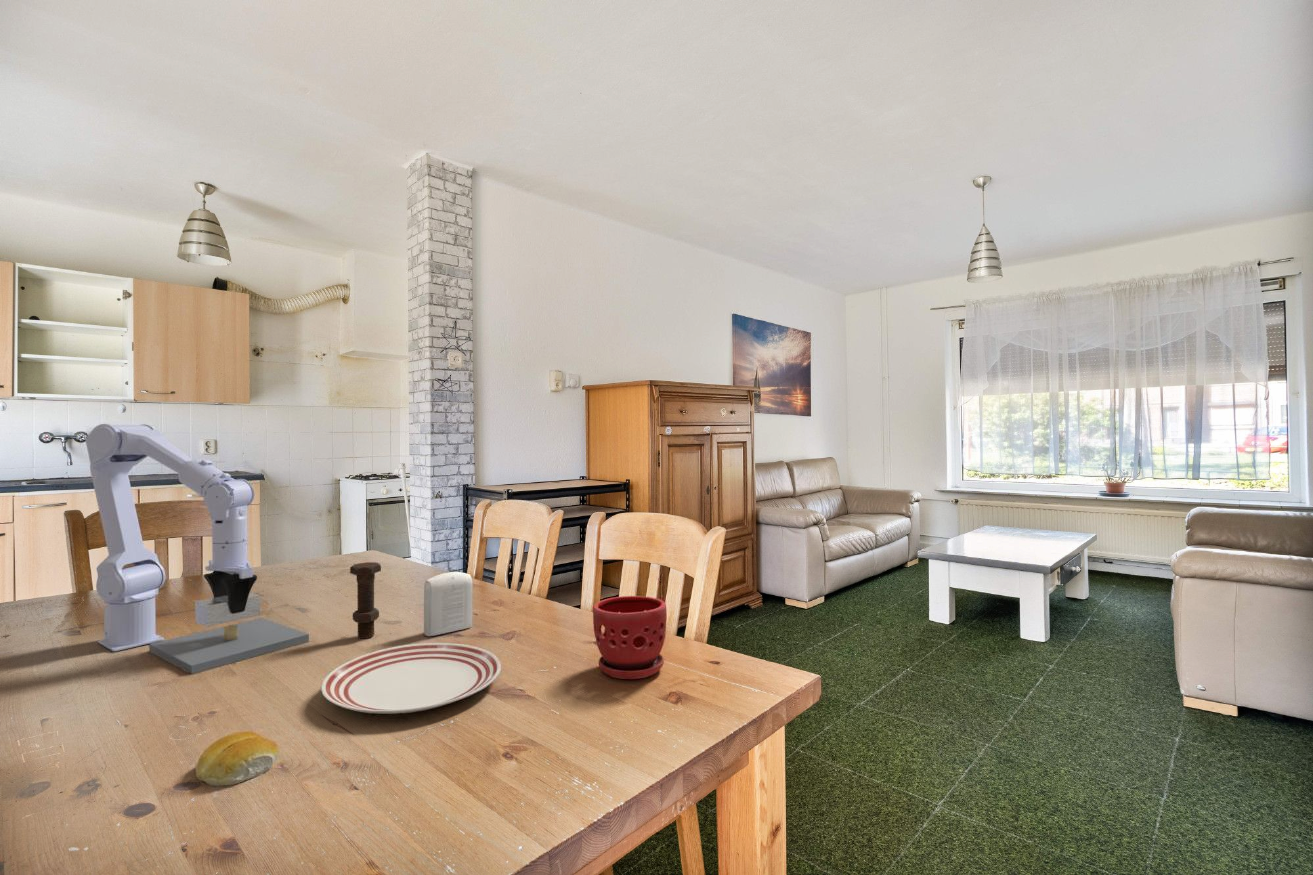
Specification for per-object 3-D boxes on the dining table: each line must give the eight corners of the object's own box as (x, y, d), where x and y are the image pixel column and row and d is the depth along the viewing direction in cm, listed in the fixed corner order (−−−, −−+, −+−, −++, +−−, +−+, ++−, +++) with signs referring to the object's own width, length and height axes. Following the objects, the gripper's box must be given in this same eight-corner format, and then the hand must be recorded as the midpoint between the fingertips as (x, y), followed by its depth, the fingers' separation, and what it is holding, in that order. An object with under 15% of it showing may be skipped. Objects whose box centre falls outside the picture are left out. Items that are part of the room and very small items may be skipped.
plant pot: (677, 662, 112) (677, 597, 112) (646, 690, 100) (646, 617, 100) (615, 652, 118) (615, 590, 118) (579, 676, 106) (578, 607, 106)
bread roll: (254, 745, 83) (254, 716, 83) (288, 764, 78) (288, 733, 78) (182, 774, 76) (182, 742, 76) (214, 797, 71) (214, 763, 71)
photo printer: (466, 623, 136) (466, 567, 135) (475, 627, 132) (475, 570, 132) (420, 633, 128) (420, 575, 128) (429, 638, 125) (428, 578, 125)
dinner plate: (531, 669, 110) (531, 651, 109) (427, 743, 84) (426, 719, 84) (407, 651, 119) (407, 634, 118) (278, 713, 93) (278, 691, 93)
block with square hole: (195, 621, 118) (195, 601, 118) (246, 610, 126) (246, 591, 126) (207, 626, 115) (207, 605, 115) (259, 615, 123) (259, 595, 123)
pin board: (149, 651, 118) (149, 631, 118) (262, 624, 135) (261, 606, 135) (191, 674, 107) (191, 651, 107) (308, 641, 124) (308, 621, 124)
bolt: (367, 642, 123) (367, 568, 123) (345, 640, 124) (345, 567, 124) (385, 633, 129) (385, 562, 129) (364, 631, 130) (364, 561, 130)
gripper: (191, 540, 121) (191, 608, 122) (223, 548, 113) (223, 621, 114) (231, 535, 127) (231, 600, 127) (264, 542, 119) (265, 611, 119)
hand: (230, 609), depth 121 cm, fingers closed on block with square hole, 6 cm apart
